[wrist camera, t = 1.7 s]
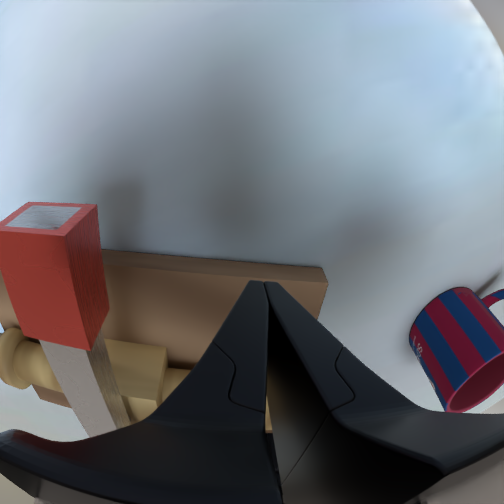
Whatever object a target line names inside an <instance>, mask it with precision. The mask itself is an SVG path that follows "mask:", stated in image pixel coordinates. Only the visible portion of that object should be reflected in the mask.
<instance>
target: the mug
mask: <svg viewBox="0 0 504 504" xmlns="http://www.w3.org/2000/svg"><path fill="white" fill-rule="evenodd" d="M502 299H504V289H501V290H498V291H496V292H493V293H491V294H490V295H488V296H486V297H484V298H483V299H480V298H479V297H478V296H477V295H476V294H475V293H474V292H473V291H472V290H470V289H468V288H464V287H462V288H455V289H451V290H449V291H446V292H444V293H443V294H441V295H439V296H438V297H437V298H435V299H434V300H433V301H432V302H430V303H429V304H428V305H427V306H426V307H425V308H424V309H423V310H422V312H421V313H420V314H419V316H418V317H417V319H416V320H415V322H414V324H413V326H412V328H411V332H410V337H409V341H410V345H411V347H412V349H413V351H414V353H415V355H416V356H417V358H418V360H419V362H420V364H421V366H422V367H423V369H424V371H425V373H426V375H427V377H428V379H429V381H430V383H431V385H432V386H433V388H434V390H435V392H436V394H437V396H438V398H439V400H440V402H441V404H442V406H443V408H444V410H445V412H453V413H462V412H465V411H467V410H469V409H471V408H473V407H475V406H477V405H478V404H480V403H481V402H483V401H484V400H485V399H487V398H488V397H489V396H491V395H492V394H493V393H494V392H495V391H496V390H497V389H499V388H500V387H501V386H502V385H503V383H504V326H503V325H502V324H501V323H500V322H499V320H498V319H497V318H496V317H495V316H494V314H493V313H492V312H491V311H490V310H489V307H490V306H491V305H492V304H494V303H496V302H498V301H500V300H502Z"/></svg>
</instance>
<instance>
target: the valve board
mask: <svg viewBox="0 0 504 504" xmlns="http://www.w3.org/2000/svg"><path fill="white" fill-rule="evenodd" d="M101 253H102V261H103V268H104V275H105V282H106V288H107V294H108V300H109V306H110V310H109V312H108V314H107V316H106V318H105V320H104V322H103V325H102V327H101V328H102V332H103V336H104V340H105V344H106V348H107V352H108V355H109V359H110V362H111V366H112V369H113V373H114V376H115V379H116V382H117V385H118V389H119V392H120V395H121V398H122V401H123V403H124V406H125V409H126V412H127V415H128V417H129V420H130V423H131V424H134V423H137V422H139V421H141V420H143V419H145V418H146V417H148V416H149V415H150V414H151V413H153V412H154V411H155V410H156V409H157V408H158V407H159V406H160V404H161V403H162V402H163V401H164V400H165V399H166V398H167V397H168V396H169V395H170V394H171V393H172V391H173V390H174V389H175V388H176V387H177V386H178V385H179V384H180V383H181V382H182V380H183V379H184V378H185V377H186V376H187V375H188V374H189V372H190V371H191V370H192V369H193V368H194V366H195V365H196V364H197V363H198V361H199V360H200V358H201V357H202V355H203V354H204V352H205V351H206V349H207V348H208V346H209V344H210V343H211V342H212V340H213V338H214V337H215V335H216V333H217V332H218V330H219V329H220V327H221V325H222V324H223V322H224V320H225V319H226V317H227V316H228V314H229V312H230V311H231V309H232V307H233V306H234V304H235V303H236V301H237V299H238V298H239V296H240V294H241V293H242V291H243V289H244V288H245V286H246V285H247V283H248V281H249V280H259V281H263V283H264V282H265V281H273V282H278V283H279V284H280V285H281V286H282V287H283V288H284V289H285V290H286V291H287V292H288V293H290V294H291V295H292V296H293V297H294V298H295V299H296V300H297V301H298V302H299V303H300V304H301V305H302V306H303V307H304V308H305V309H306V310H307V311H308V312H309V313H310V314H311V315H312V316H313V317H314V318H316V319H318V316H319V313H320V309H321V306H322V303H323V300H324V297H325V293H326V290H327V287H328V280H327V278H326V276H325V274H324V272H323V269H322V268H316V267H303V266H290V265H277V264H265V263H253V262H240V261H228V260H217V259H205V258H193V257H182V256H170V255H159V254H148V253H137V252H126V251H115V250H105V249H101ZM0 322H1V325H2V327H3V329H4V331H5V332H4V333H0V378H1V379H2V381H3V382H5V383H6V384H8V385H11V386H13V387H16V388H19V389H26V388H28V387H29V386H30V385H31V384H32V386H33V388H34V389H35V391H36V393H37V394H38V396H39V397H40V399H42V400H45V401H48V402H52V403H55V404H58V405H62V406H65V407H69V408H72V407H71V405H70V403H69V402H68V400H67V398H66V396H65V394H64V392H63V390H62V389H61V387H60V385H59V383H58V381H57V379H56V377H55V375H54V373H53V370H52V368H51V366H50V364H49V362H48V360H47V357H46V355H45V353H44V351H43V348H42V346H41V344H40V341H39V339H35V338H31V337H28V336H24V334H23V332H22V330H21V327H20V325H19V322H18V320H17V317H16V314H15V312H14V309H13V306H12V304H11V301H10V298H9V295H8V292H7V289H6V286H5V283H4V280H3V277H2V273H1V270H0ZM265 416H266V418H265V429H266V433H273V432H272V426H271V420H270V413H269V407H268V401H267V395H266V414H265Z"/></svg>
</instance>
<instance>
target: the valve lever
mask: <svg viewBox="0 0 504 504" xmlns="http://www.w3.org/2000/svg"><path fill="white" fill-rule="evenodd" d="M0 270H1V273H2V277H3V280H4V283H5V286H6V289H7V292H8V295H9V298H10V301H11V304H12V306H13V309H14V312H15V314H16V317H17V320H18V322H19V325H20V327H21V330H22V332H23V334H24V336H28V337H31V338H35V339H39V341H40V344H41V346H42V348H43V351H44V353H45V355H46V357H47V360H48V362H49V364H50V366H51V368H52V370H53V373H54V375H55V377H56V379H57V381H58V383H59V385H60V387H61V389H62V390H63V392H64V394H65V396H66V398H67V400H68V402H69V403H70V405H71V407H72V409H73V411H74V412H75V414H76V416H77V417H78V419H79V421H80V423H81V424H82V426H83V427H84V429H85V431H86V432H87V434H88V435H89V437H94V436H97V435H100V434H104V433H107V432H110V431H113V430H116V429H119V428H122V427H125V426H128V425H131V423H130V420H129V417H128V415H127V412H126V409H125V406H124V403H123V401H122V398H121V395H120V392H119V389H118V385H117V382H116V379H115V376H114V373H113V369H112V366H111V362H110V359H109V355H108V352H107V348H106V344H105V340H104V336H103V332H102V328H101V327H102V325H103V322H104V320H105V318H106V316H107V314H108V312H109V310H110V306H109V300H108V294H107V288H106V282H105V275H104V268H103V261H102V253H101V244H100V235H99V224H98V212H97V205H95V204H74V203H48V202H28V203H26V204H25V205H23V206H22V207H20V208H19V209H18V210H16V211H15V212H13V213H12V214H11V215H9V216H8V217H7V218H5V219H4V220H3V221H1V222H0Z"/></svg>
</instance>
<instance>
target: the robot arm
mask: <svg viewBox="0 0 504 504" xmlns="http://www.w3.org/2000/svg"><path fill="white" fill-rule="evenodd" d="M266 395H267V401H268V407H269V413H270V420H271V426H272V432H273V433H266V429H265V418H266V416H265V414H266ZM0 473H1V474H2V475H3V476H5V477H6V478H7V479H9V480H10V481H12V482H13V483H14V484H15V485H17V486H18V487H19V488H21V489H22V490H24V491H25V492H27V493H28V494H29V495H31V496H32V497H34V498H35V500H34V504H504V414H472V413H453V412H439V411H431V410H427V409H425V408H422V407H420V406H418V405H416V404H414V403H413V402H412V401H410V400H409V399H408V398H406V397H405V396H404V395H402V394H401V393H400V392H398V391H397V390H396V389H394V388H393V387H392V386H391V385H389V384H388V383H387V382H385V381H384V380H383V379H381V378H380V377H379V376H378V375H376V374H375V373H374V372H373V371H372V370H370V369H369V368H368V367H367V366H365V365H364V364H363V363H362V362H361V361H360V360H359V359H358V358H357V357H355V356H354V355H353V354H352V353H351V352H350V351H349V350H348V349H347V348H346V347H343V344H342V343H341V342H340V341H338V340H337V339H336V338H335V337H334V336H333V335H332V334H331V333H330V332H329V331H328V330H327V329H326V328H325V327H324V326H323V325H322V324H321V323H320V322H319V321H318V320H317V319H316V318H314V317H313V316H312V315H311V314H310V313H309V312H308V311H307V310H306V309H305V308H304V307H303V306H302V305H301V304H300V303H299V302H298V301H297V300H296V299H295V298H294V297H293V296H292V295H291V294H290V293H288V292H287V291H286V290H285V289H284V288H283V287H282V286H281V285H280V284H279V283H278V282H273V281H265V282H264V283H263V281H259V280H249V281H248V283H247V285H246V286H245V288H244V289H243V291H242V293H241V294H240V296H239V298H238V299H237V301H236V303H235V304H234V306H233V307H232V309H231V311H230V312H229V314H228V316H227V317H226V319H225V320H224V322H223V324H222V325H221V327H220V329H219V330H218V332H217V333H216V335H215V337H214V338H213V340H212V342H211V343H210V344H209V346H208V348H207V349H206V351H205V352H204V354H203V355H202V357H201V358H200V360H199V361H198V363H197V364H196V365H195V366H194V368H193V369H192V370H191V371H190V372H189V374H188V375H187V376H186V377H185V378H184V379H183V380H182V382H181V383H180V384H179V385H178V386H177V387H176V388H175V389H174V390H173V391H172V393H171V394H170V395H169V396H168V397H167V398H166V399H165V400H164V401H163V402H162V403H161V404H160V406H159V407H158V408H157V409H156V410H155V411H154V412H153V413H151V414H150V415H149V416H148V417H146V418H145V419H143V420H141V421H139V422H137V423H134V424H131V425H128V426H125V427H122V428H119V429H116V430H113V431H110V432H107V433H104V434H100V435H97V436H94V437H90V438H87V439H84V440H79V441H73V442H59V441H51V440H47V439H44V438H41V437H38V436H36V435H33V434H30V433H28V432H25V431H22V430H17V429H11V430H7V431H4V432H2V433H0Z"/></svg>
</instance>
